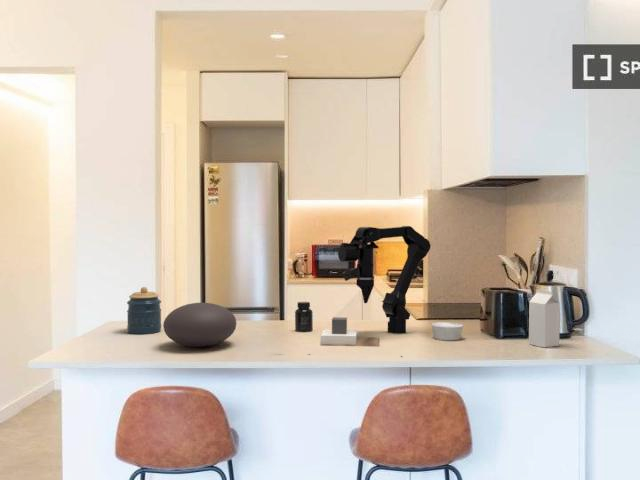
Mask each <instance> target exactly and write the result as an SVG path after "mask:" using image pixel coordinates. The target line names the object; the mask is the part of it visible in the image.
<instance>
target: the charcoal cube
mask: <svg viewBox="0 0 640 480" xmlns="http://www.w3.org/2000/svg"><path fill="white" fill-rule="evenodd" d="M331 330H332V334H346V333H347V330H348V317H343V316H342V317H339V316H335V317H332V319H331Z"/></svg>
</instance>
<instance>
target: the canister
mask: <svg viewBox="0 0 640 480" xmlns="http://www.w3.org/2000/svg"><path fill="white" fill-rule="evenodd" d="M159 296H160V295H159V294H158V293H156V292H154V291H148V288H147V287H146V286H143V287H142V286H141V288H140V291H137V292H132V294H130V295H129V296H128V297H129V300H128V301H126V304H127V305H128V307H127V308H128V309H127V310H126V312H127V325H126V327H127V333H129V334H131V335H132V334H133V335H150V334H156V333H159V332H161V331H162V309H161V303H162V301H161V300H160V299H159Z"/></svg>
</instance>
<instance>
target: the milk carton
mask: <svg viewBox="0 0 640 480" xmlns="http://www.w3.org/2000/svg"><path fill="white" fill-rule="evenodd" d="M535 291H536V292H535V294H534V295H533V296H532V298H531V299H530V300H529V303H528V305H529V306H528V315H529V316H528V344H529V345H530V346H531V345H532V346H536V347H541V348H550V347H552V348H553V347H558V346H560V322H561V321H560V315H561V314H560V309H561V307H560V305H561V303H560V302H559V300H558V299H557V298H556V297H555V296H554V292H553V291H549V290H548V291H547V290H543V289H542V290H541V289H536V290H535Z"/></svg>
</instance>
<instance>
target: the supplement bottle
mask: <svg viewBox="0 0 640 480" xmlns="http://www.w3.org/2000/svg"><path fill="white" fill-rule="evenodd" d="M296 307H297V309H295V311H294V313H295V314H294V328H295V329H294V331H295V332H297V333H310V332H313V329H314V328H313V327H314V326H313V325H314V323H313V322H314V319H313V317H314V315H313V313H314V312H313V309H311V302H309V301H298V302H297V306H296Z"/></svg>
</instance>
